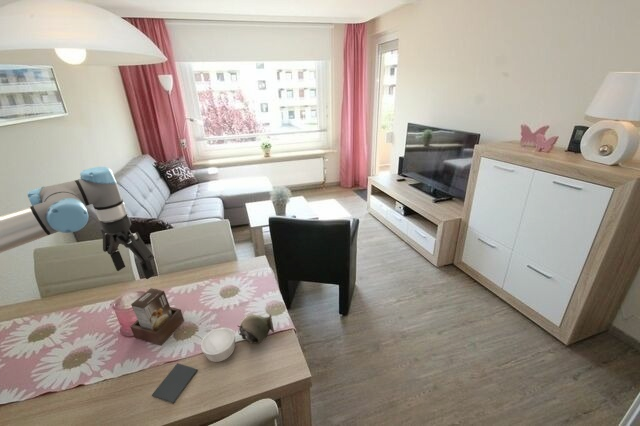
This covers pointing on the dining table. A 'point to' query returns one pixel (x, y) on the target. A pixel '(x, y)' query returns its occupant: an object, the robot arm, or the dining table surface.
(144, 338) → the holder
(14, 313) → the dining table surface
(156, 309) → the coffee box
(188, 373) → the mat
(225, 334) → the ramekin
